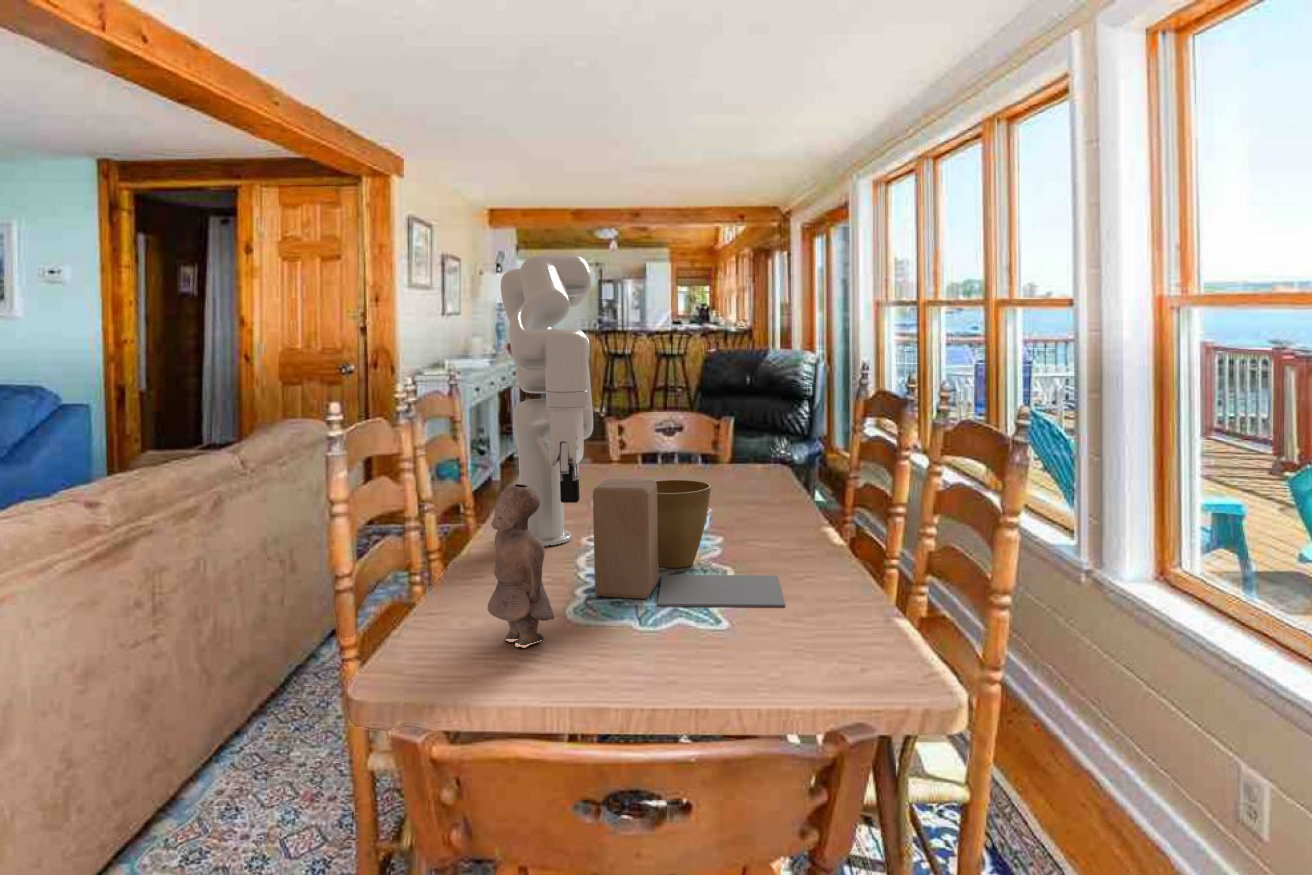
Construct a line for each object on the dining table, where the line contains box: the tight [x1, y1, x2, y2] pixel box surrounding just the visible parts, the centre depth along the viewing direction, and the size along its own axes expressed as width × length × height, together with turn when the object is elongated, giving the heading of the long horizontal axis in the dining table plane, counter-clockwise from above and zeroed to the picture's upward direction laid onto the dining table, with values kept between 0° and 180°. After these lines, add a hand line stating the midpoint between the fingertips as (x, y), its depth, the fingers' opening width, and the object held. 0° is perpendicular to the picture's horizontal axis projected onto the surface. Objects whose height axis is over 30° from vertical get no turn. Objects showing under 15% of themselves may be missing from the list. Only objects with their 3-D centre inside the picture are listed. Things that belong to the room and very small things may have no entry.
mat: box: [657, 574, 786, 608], centre depth 164 cm, size 22×17×1 cm
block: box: [592, 478, 659, 600], centre depth 164 cm, size 10×10×20 cm
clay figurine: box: [486, 483, 555, 645], centre depth 138 cm, size 13×10×25 cm
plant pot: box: [654, 479, 712, 569], centre depth 181 cm, size 15×15×16 cm
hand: (570, 501), depth 163 cm, fingers closed
